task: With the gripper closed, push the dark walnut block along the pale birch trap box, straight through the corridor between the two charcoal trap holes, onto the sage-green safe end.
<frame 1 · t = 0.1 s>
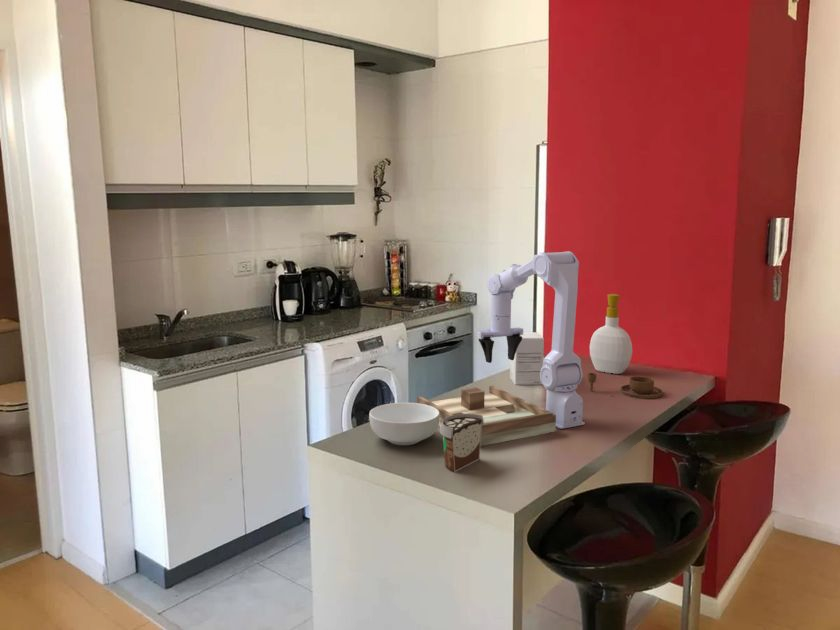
hand: (499, 360, 203), 10 cm above the countertop, tool pointing down, fingers open, 7 cm apart
supplement box: (525, 381, 219), on the countertop
cereal bowl: (404, 440, 167), on the countertop
walnut block: (472, 406, 184), point 2 cm above the countertop, touching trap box
soap bottle: (609, 372, 230), on the countertop
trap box: (483, 421, 180), on the countertop
place setting: (627, 393, 208), on the countertop
food container: (456, 463, 153), on the countertop
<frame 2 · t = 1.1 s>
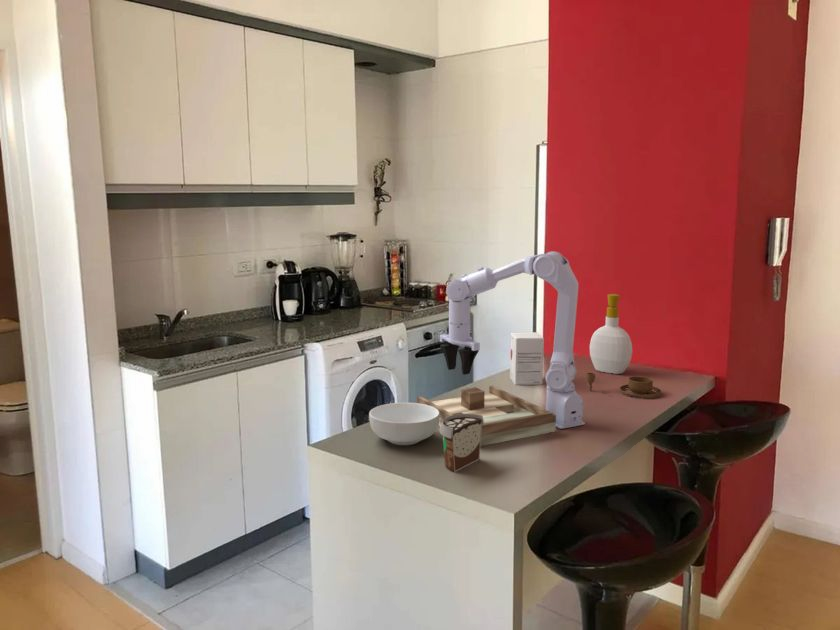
hand: (458, 371, 189), 10 cm above the countertop, tool pointing down, fingers open, 6 cm apart
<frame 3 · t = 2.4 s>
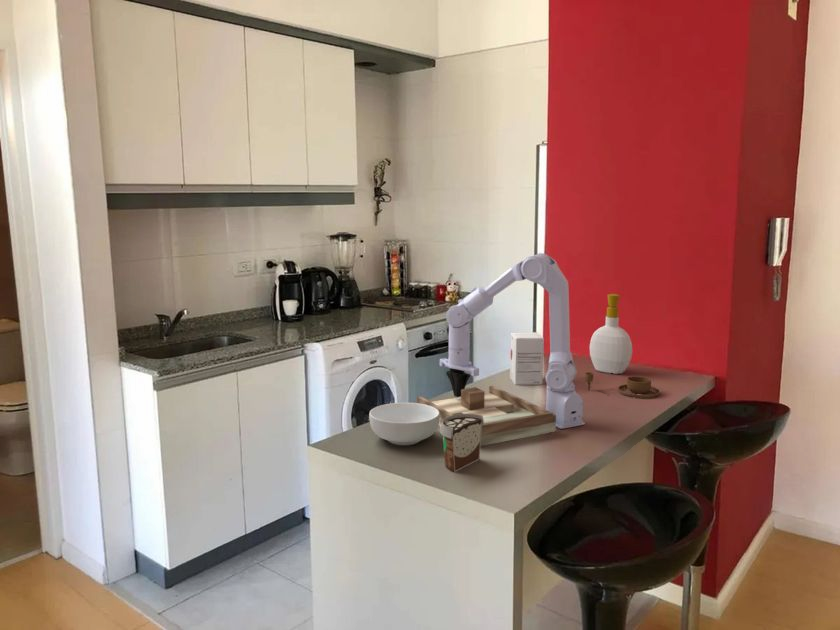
hand: (458, 396, 191), 3 cm above the countertop, tool pointing down, fingers closed
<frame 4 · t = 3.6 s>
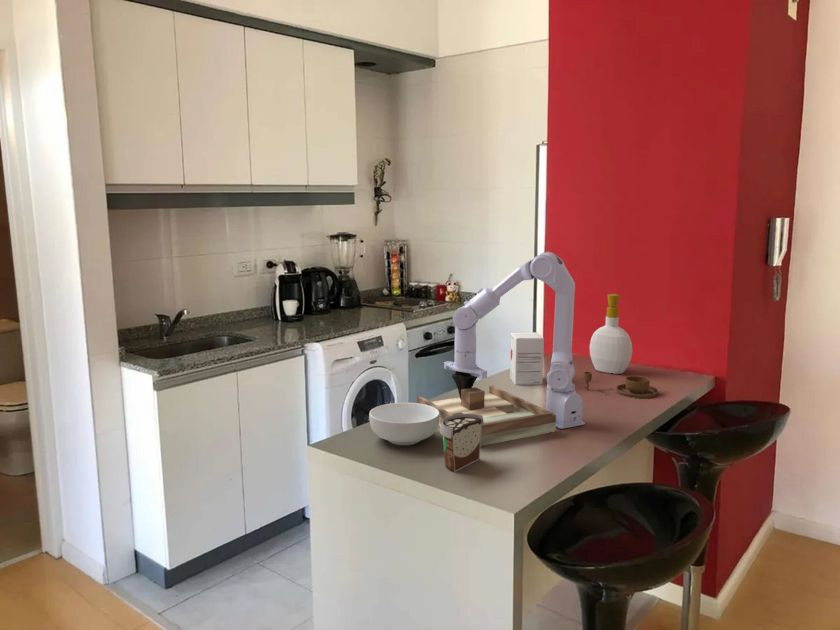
hand: (464, 399, 188), 3 cm above the countertop, tool pointing down, fingers closed
walnut block: (472, 406, 184), point 3 cm above the countertop, touching gripper
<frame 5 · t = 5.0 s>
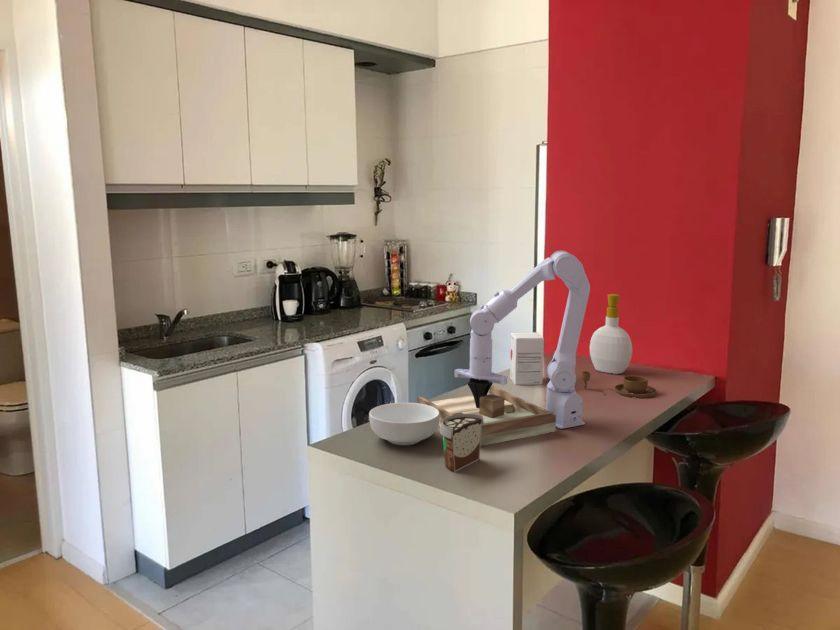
hand: (479, 407, 181), 3 cm above the countertop, tool pointing down, fingers closed
walnut block: (491, 414, 178), point 3 cm above the countertop, touching gripper
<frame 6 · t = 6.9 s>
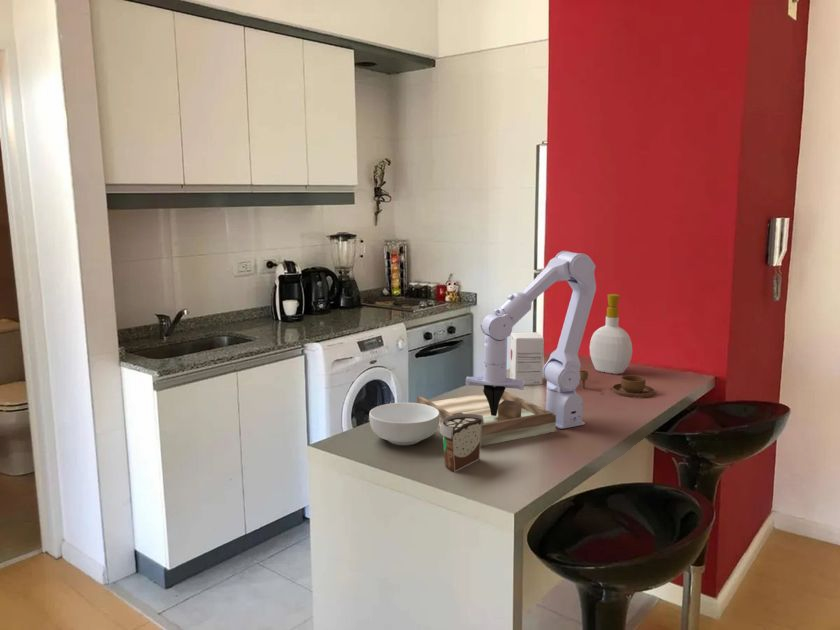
hand: (494, 414, 175), 3 cm above the countertop, tool pointing down, fingers closed
walnut block: (509, 420, 173), point 3 cm above the countertop, touching gripper, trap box
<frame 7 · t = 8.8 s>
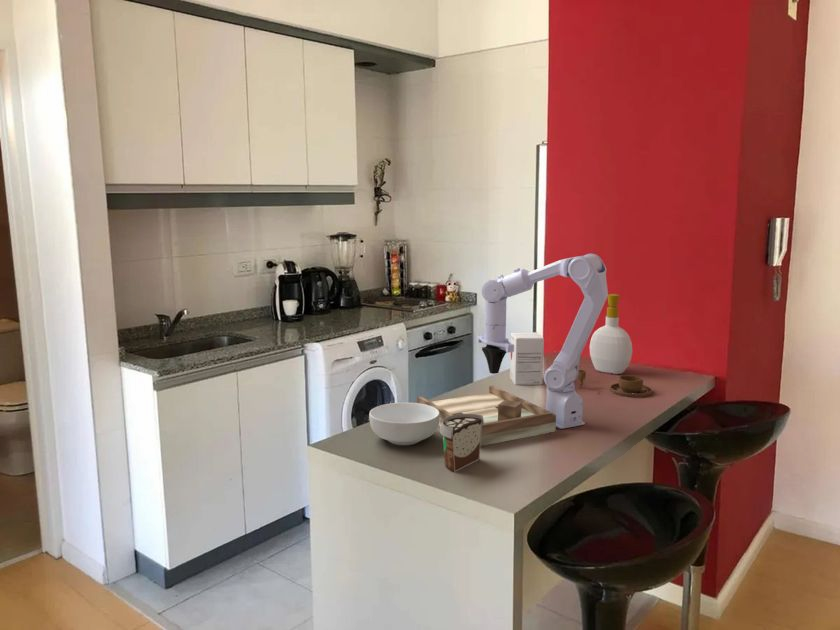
hand: (494, 372, 188), 10 cm above the countertop, tool pointing down, fingers closed
walnut block: (509, 420, 173), point 2 cm above the countertop, touching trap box
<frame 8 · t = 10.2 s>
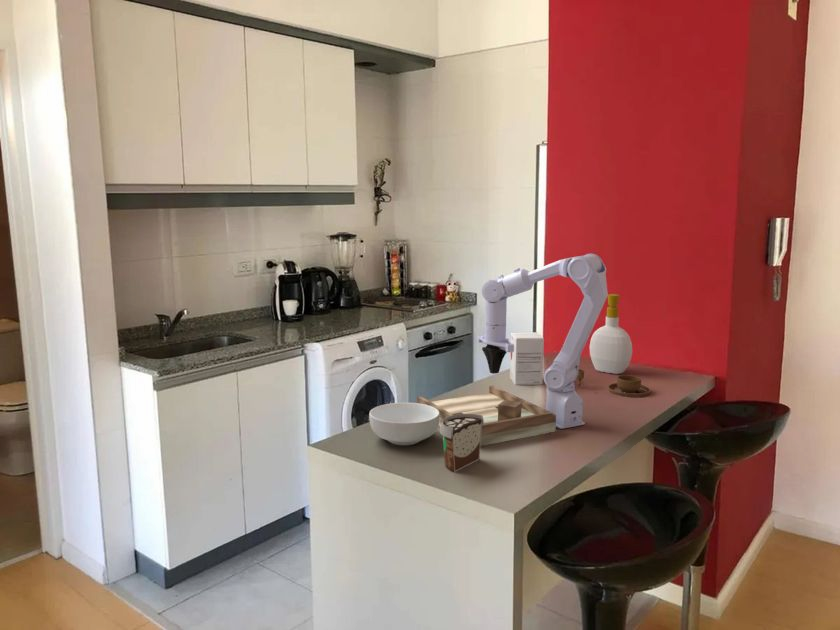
hand: (494, 372, 188), 10 cm above the countertop, tool pointing down, fingers closed
at the end: walnut block inside the target area (2.4 cm from its centre), point 2.5 cm above the countertop; walnut block tilted 0° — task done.
